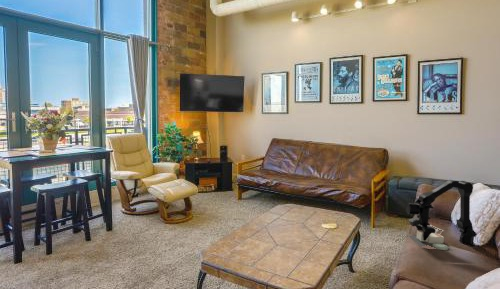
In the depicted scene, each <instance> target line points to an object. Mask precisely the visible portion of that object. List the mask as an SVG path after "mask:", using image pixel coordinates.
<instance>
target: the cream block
mask: <svg viewBox="0 0 500 289" xmlns="http://www.w3.org/2000/svg"><path fill="white" fill-rule="evenodd" d="M416 236H417V237H416V238H418V239H419V240H420V241H424V240H423V232H422V231H421V230H417V229H416ZM425 241H426V242H428V238H427V239H426V240H425Z"/></svg>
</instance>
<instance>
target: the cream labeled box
mask: <svg viewBox="0 0 500 289" xmlns="http://www.w3.org/2000/svg"><path fill="white" fill-rule="evenodd" d="M444 240H445V237H444V236H443V235H441V234H440V233H436V234H434V233H431V234H430V235H429V236H428V243H443V244H444V242H445V241H444Z"/></svg>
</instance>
